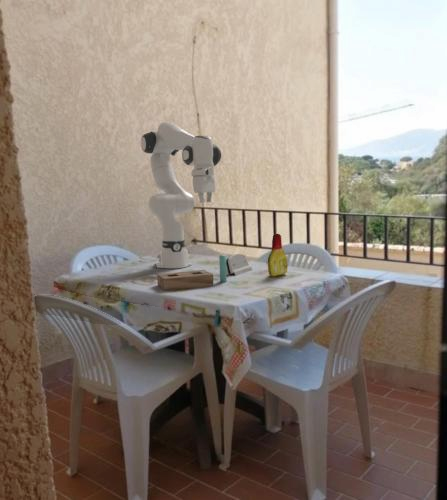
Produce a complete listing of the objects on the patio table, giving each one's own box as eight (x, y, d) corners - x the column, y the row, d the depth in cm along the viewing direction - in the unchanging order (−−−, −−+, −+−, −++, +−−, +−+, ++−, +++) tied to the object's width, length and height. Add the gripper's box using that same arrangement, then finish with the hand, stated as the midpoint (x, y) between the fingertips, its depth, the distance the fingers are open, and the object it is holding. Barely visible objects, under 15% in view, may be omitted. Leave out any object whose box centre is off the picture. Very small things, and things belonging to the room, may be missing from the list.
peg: (219, 281, 235) (218, 255, 233) (225, 280, 236) (224, 254, 234) (221, 282, 232) (220, 256, 230) (227, 281, 233) (227, 255, 231)
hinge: (235, 275, 247) (229, 255, 247) (227, 278, 249) (221, 258, 250) (252, 269, 260) (246, 251, 261) (245, 272, 263) (239, 253, 263)
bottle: (273, 278, 238) (273, 235, 236) (263, 276, 243) (263, 234, 240) (290, 274, 246) (290, 233, 243) (280, 272, 251) (280, 232, 248)
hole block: (157, 285, 229) (157, 274, 228) (204, 280, 237) (204, 269, 236) (164, 290, 218) (164, 279, 217) (213, 285, 226) (213, 274, 225)
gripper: (205, 172, 243) (206, 202, 245) (189, 171, 224) (191, 203, 225) (217, 172, 241) (219, 201, 243) (203, 171, 222) (205, 203, 223)
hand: (205, 202), depth 234 cm, fingers open, 8 cm apart
